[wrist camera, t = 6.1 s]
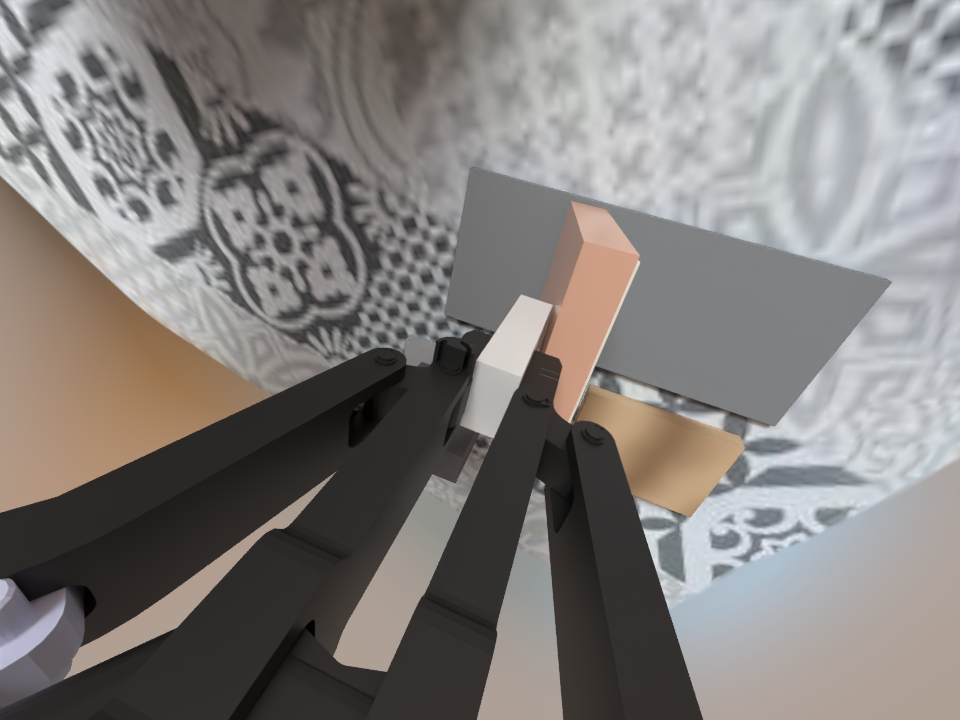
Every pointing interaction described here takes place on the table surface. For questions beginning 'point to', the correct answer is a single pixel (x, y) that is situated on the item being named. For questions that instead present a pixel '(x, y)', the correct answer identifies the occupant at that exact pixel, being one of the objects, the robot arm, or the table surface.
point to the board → (662, 449)
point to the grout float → (464, 438)
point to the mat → (669, 297)
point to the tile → (584, 296)
